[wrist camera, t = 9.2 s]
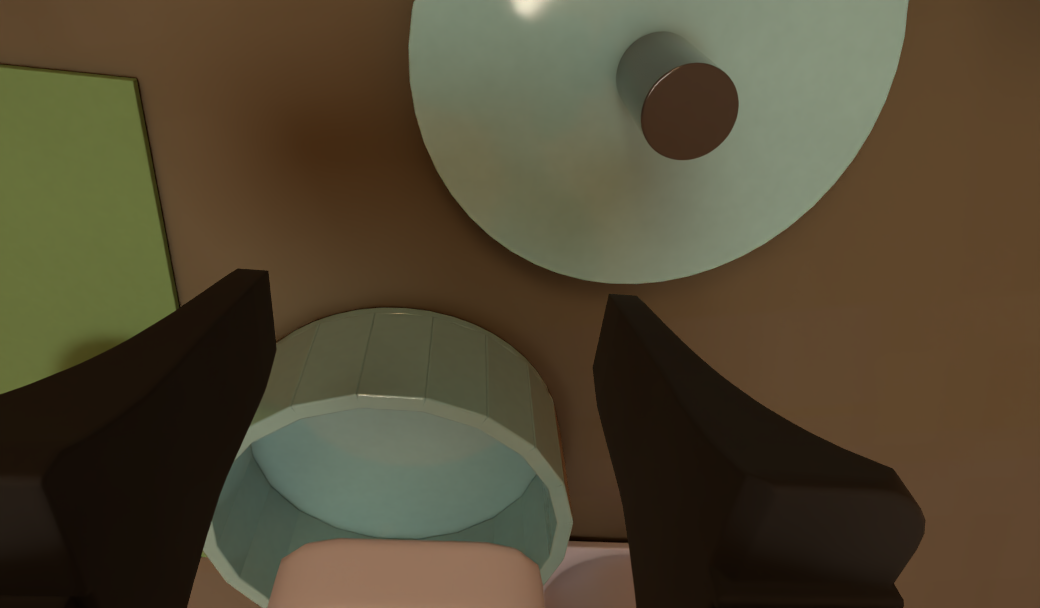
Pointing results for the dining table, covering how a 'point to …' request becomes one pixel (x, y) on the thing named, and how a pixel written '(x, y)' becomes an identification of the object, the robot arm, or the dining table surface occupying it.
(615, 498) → the dining table surface
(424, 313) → the pot
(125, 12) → the dining table surface
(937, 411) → the dining table surface
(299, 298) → the dining table surface
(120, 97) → the green flat l-shaped piece
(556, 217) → the lid
